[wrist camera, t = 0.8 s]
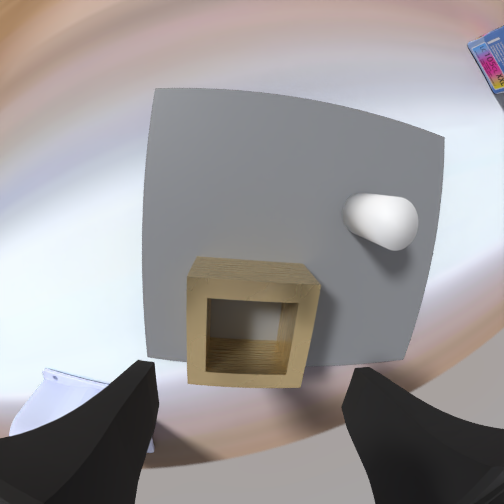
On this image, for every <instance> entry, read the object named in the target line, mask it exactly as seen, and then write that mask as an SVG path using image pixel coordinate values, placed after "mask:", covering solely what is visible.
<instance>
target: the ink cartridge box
mask: <svg viewBox="0 0 504 504" xmlns="http://www.w3.org/2000/svg"><path fill="white" fill-rule="evenodd" d="M467 45H468V48H469V49H470V51H471V52H472V54H473V56H474V57H475V59H476V61H477V63H478V64H479V66H480V68H481V70H482V71H483V73H484V75H485V77H486V79H487V81H488V83H489V85H490V87H491V89H492V91H493V92H494V93H495V94H500V93H504V25H503V26H501V27H499V28H497V29H495V30H493V31H491V32H489V33H487V34H485V35H483V36H481V37H479V38H477V39H475V40H473V41H471V42H469V43H468V44H467Z"/></svg>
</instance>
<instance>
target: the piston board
mask: <svg viewBox="0 0 504 504" xmlns="http://www.w3.org/2000/svg"><path fill="white" fill-rule="evenodd" d="M443 168H444V137H442V136H440V135H437V134H435V133H432V132H429V131H426V130H424V129H421V128H418V127H415V126H412V125H409V124H406V123H403V122H400V121H397V120H394V119H390V118H387V117H383V116H380V115H376V114H373V113H369V112H365V111H361V110H357V109H353V108H349V107H345V106H340V105H336V104H331V103H326V102H321V101H316V100H310V99H304V98H298V97H292V96H285V95H278V94H270V93H262V92H252V91H241V90H227V89H206V88H158V89H155V93H154V99H153V105H152V112H151V120H150V128H149V136H148V145H147V155H146V167H145V180H144V197H143V222H142V279H143V304H144V321H145V334H146V346H147V356H148V357H150V358H157V359H165V360H174V361H183V362H187V330H186V304H187V275H188V273H189V271H190V269H191V267H192V265H193V263H194V261H195V259H196V257H197V256H200V257H214V258H228V259H242V260H257V261H271V262H286V263H301V264H304V265H305V267H306V268H307V269H308V270H309V271H310V272H311V274H312V275H313V276H314V277H315V278H316V280H317V281H318V282H319V283H320V284H321V289H320V294H319V300H318V306H317V311H316V317H315V322H314V327H313V332H312V337H311V342H310V347H309V351H308V356H307V361H306V365H305V367H307V366H335V365H352V364H365V363H376V362H386V361H395V360H403V359H404V356H405V353H406V351H407V348H408V345H409V342H410V339H411V336H412V333H413V330H414V327H415V323H416V320H417V317H418V313H419V310H420V306H421V302H422V299H423V295H424V291H425V287H426V283H427V279H428V274H429V270H430V265H431V260H432V255H433V250H434V244H435V239H436V233H437V226H438V219H439V211H440V203H441V194H442V182H443ZM281 306H282V302H262V301H244V300H229V299H214V298H211V319H210V337H215V338H230V339H249V340H277V334H278V327H279V320H280V313H281Z"/></svg>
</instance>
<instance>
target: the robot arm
mask: <svg viewBox="0 0 504 504" xmlns="http://www.w3.org/2000/svg"><path fill="white" fill-rule="evenodd" d="M42 373H43V376H44V380H43V382H42V383H41V384H40V385H39V387H38V388H37V389H36V390H35V392H34V393H33V394H32V395H31V397H30V398H29V399H28V401H27V402H26V403H25V405H24V406H23V407H22V409H21V410H20V411H19V413H18V414H17V415H16V417H15V418H14V420H13V422H12V425H11V428H10V433H9V437H5V438H0V504H135V498H136V491H137V485H138V480H139V476H140V472H141V469H142V466H143V463H144V460H145V457H146V453H147V452H148V453H153V452H154V449H155V448H154V444H153V439H152V435H153V432H154V428H155V424H156V419H157V414H158V408H159V399H158V391H157V383H156V374H155V364H154V362H148V361H141V360H137V361H136V362H135V363H134V364H132V365H131V366H130V367H129V368H128V369H127V370H125V371H124V372H123V373H122V374H121V375H120V376H119V377H117V378H116V379H115V380H114V381H113V382H111V383H110V384H109V385H108V384H103V383H99V382H95V381H90V380H86V379H82V378H78V377H75V376H71V375H67V374H64V373H60V372H57V371H54V370H50V369H47V368H45V369H44V370H43V371H42ZM341 408H342V411H343V415H344V419H345V423H346V426H347V429H348V431H349V434H350V436H351V439H352V441H353V443H354V445H355V447H356V450H357V452H358V454H359V457H360V459H361V461H362V463H363V466H364V468H365V470H366V472H367V475H368V478H369V480H370V484H371V488H372V492H373V495H374V499H375V504H504V429H499V428H493V427H488V426H483V425H479V424H475V423H472V422H469V421H465V420H463V419H460V418H457V417H454V416H452V415H450V414H447V413H445V412H442V411H441V410H439V409H437V408H434V407H433V406H431V405H429V404H427V403H425V402H424V401H422V400H420V399H418V398H416V397H415V396H413V395H412V394H410V393H409V392H407V391H406V390H404V389H402V388H401V387H399V386H398V385H396V384H395V383H393V382H392V381H390V380H389V379H387V378H386V377H384V376H383V375H381V374H380V373H378V372H377V371H375V370H373V369H372V368H370V367H363V368H355V370H354V373H353V376H352V379H351V382H350V385H349V388H348V390H347V393H346V396H345V399H344V402H343V404H342V407H341Z"/></svg>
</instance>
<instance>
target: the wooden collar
mask: <svg viewBox="0 0 504 504" xmlns="http://www.w3.org/2000/svg"><path fill="white" fill-rule="evenodd" d="M320 289H321V284H320V283H319V282H318V281H317V280H316V278H315V277H314V276H313V275H312V274H311V272H310V271H309V270H308V269H307V268H306V267H305V265H304V264H301V263H286V262H271V261H257V260H242V259H228V258H214V257H200V256H197V257H196V259H195V261H194V263H193V265H192V267H191V269H190V271H189V273H188V275H187V304H186V330H187V376H188V384H195V385H207V386H222V387H243V388H300V387H301V383H302V378H303V374H304V370H305V365H306V361H307V356H308V351H309V347H310V342H311V337H312V332H313V327H314V322H315V317H316V311H317V306H318V300H319V294H320ZM211 298H214V299H229V300H244V301H262V302H282V306H281V313H280V320H279V327H278V334H277V340H249V339H230V338H215V337H210V319H211Z"/></svg>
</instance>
